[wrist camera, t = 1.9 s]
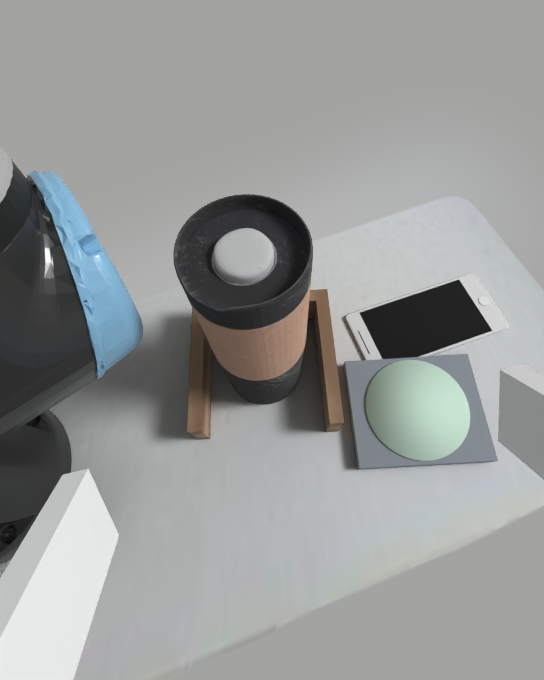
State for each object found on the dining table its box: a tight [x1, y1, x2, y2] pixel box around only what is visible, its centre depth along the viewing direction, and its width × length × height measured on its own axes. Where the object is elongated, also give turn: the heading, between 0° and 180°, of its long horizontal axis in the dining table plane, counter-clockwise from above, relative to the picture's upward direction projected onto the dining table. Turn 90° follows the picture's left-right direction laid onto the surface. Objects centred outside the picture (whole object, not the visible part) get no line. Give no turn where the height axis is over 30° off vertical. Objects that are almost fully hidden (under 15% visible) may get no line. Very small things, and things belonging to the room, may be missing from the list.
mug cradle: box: [187, 289, 344, 439], centre depth 36 cm, size 13×13×4 cm
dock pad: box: [343, 354, 498, 469], centre depth 35 cm, size 12×10×1 cm
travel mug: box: [174, 194, 313, 404], centre depth 29 cm, size 8×8×20 cm
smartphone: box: [346, 273, 509, 360], centre depth 39 cm, size 7×15×1 cm, turn 109°
